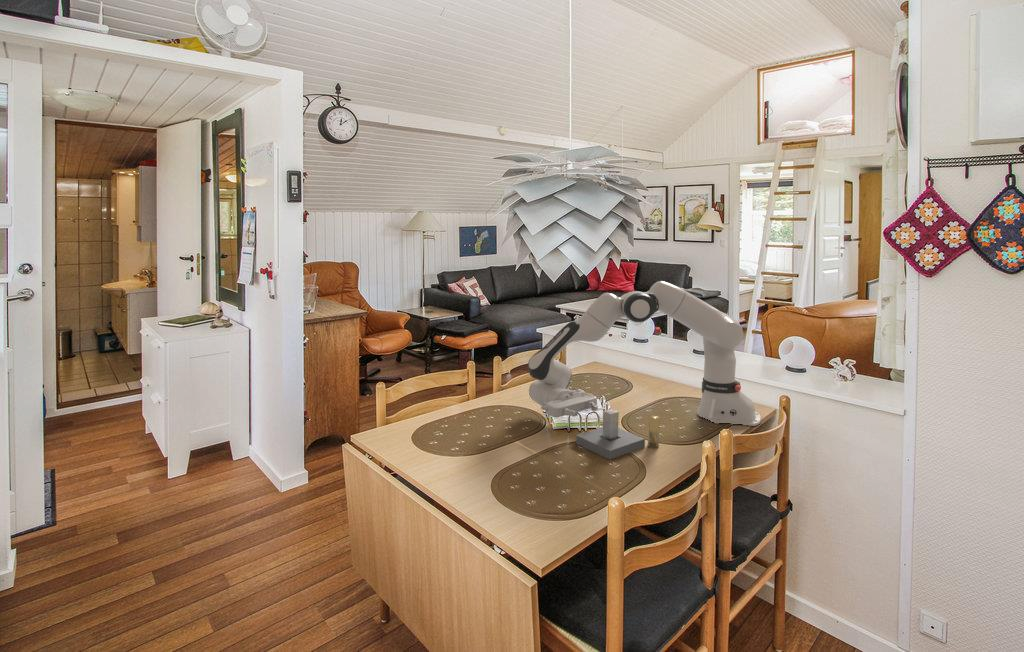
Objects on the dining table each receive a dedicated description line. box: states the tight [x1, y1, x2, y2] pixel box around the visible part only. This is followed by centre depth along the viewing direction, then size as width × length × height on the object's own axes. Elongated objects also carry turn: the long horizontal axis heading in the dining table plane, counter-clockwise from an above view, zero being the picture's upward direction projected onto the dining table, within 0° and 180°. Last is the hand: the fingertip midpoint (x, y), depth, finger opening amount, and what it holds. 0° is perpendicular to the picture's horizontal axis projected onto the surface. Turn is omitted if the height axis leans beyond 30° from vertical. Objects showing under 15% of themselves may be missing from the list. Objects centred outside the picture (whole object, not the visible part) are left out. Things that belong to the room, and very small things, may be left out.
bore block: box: [575, 426, 646, 460], centre depth 189 cm, size 16×16×3 cm
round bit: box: [647, 415, 661, 449], centre depth 188 cm, size 4×4×10 cm
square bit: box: [602, 408, 620, 441], centre depth 189 cm, size 4×4×12 cm
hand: (586, 411), depth 197 cm, fingers open, 8 cm apart
